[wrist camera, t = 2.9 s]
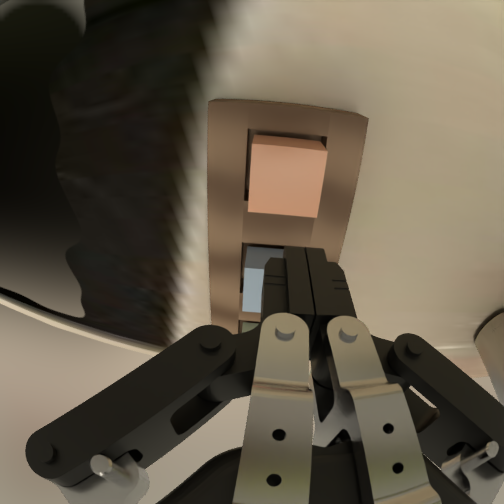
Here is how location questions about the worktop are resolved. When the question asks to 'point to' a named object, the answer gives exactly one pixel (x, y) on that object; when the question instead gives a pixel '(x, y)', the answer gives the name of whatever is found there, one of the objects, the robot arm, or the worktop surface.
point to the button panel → (264, 224)
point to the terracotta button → (286, 175)
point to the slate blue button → (256, 275)
